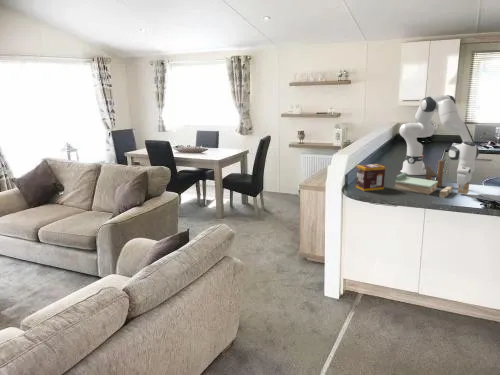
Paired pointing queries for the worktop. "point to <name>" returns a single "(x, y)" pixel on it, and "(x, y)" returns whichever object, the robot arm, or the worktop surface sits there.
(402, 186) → the tan piece
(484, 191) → the worktop surface
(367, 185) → the supplement box
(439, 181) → the brown wooden bracket
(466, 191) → the brown wood block
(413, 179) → the lid
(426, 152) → the worktop surface
